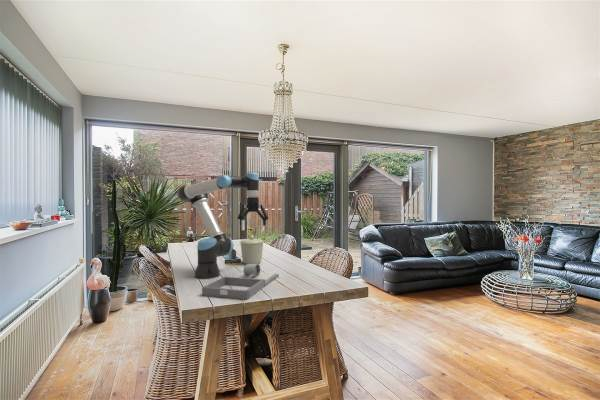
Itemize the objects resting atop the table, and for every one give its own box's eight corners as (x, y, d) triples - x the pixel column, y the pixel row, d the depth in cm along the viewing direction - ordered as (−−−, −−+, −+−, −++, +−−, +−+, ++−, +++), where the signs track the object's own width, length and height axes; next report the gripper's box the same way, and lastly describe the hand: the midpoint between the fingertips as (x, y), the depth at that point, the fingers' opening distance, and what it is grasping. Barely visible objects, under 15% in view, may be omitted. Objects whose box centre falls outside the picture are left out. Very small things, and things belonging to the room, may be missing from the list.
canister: (239, 261, 250) (238, 234, 250) (262, 260, 255) (262, 233, 254) (240, 266, 233) (240, 237, 232) (265, 265, 237) (265, 236, 237)
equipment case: (201, 295, 165) (201, 287, 165) (242, 274, 211) (242, 267, 211) (246, 299, 159) (246, 291, 159) (278, 276, 204) (278, 270, 204)
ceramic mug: (248, 274, 200) (248, 261, 200) (260, 275, 198) (260, 262, 197) (239, 278, 190) (239, 265, 190) (252, 279, 188) (252, 266, 187)
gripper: (273, 197, 206) (273, 230, 206) (237, 197, 213) (237, 229, 213) (269, 197, 199) (269, 231, 199) (232, 197, 206) (232, 230, 206)
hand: (253, 230), depth 206 cm, fingers open, 13 cm apart
